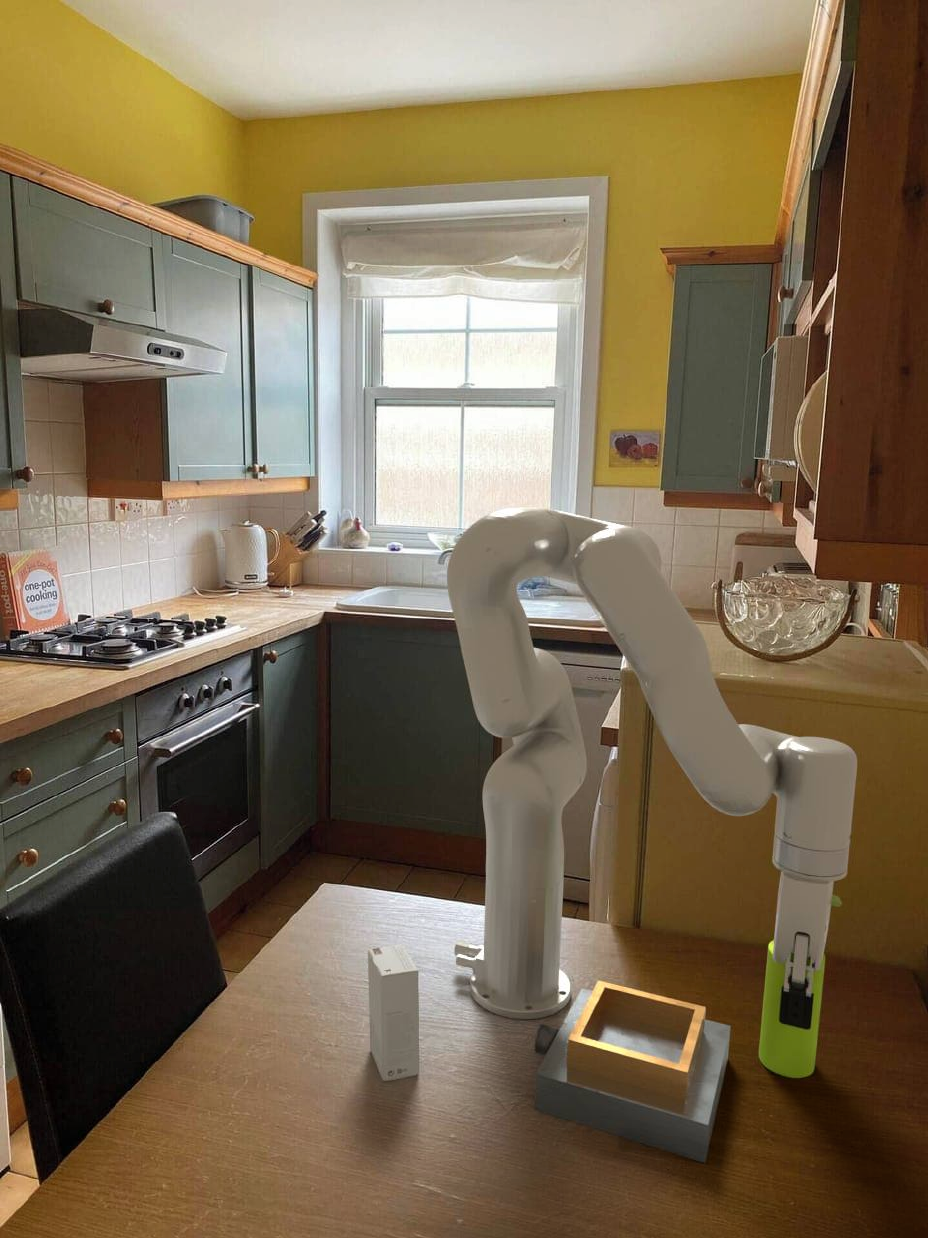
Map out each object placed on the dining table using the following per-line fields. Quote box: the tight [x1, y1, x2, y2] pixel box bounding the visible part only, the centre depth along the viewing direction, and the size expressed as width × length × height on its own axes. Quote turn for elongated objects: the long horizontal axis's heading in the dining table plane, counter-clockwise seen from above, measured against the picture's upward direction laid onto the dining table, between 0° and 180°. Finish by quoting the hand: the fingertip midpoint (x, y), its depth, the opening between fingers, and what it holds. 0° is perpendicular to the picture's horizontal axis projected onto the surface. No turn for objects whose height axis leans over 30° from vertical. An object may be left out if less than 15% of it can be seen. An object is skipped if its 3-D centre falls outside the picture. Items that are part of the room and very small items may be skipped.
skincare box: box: [367, 943, 420, 1082], centre depth 96 cm, size 6×4×12 cm
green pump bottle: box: [758, 893, 843, 1079], centre depth 98 cm, size 6×7×20 cm
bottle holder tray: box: [533, 980, 731, 1164], centre depth 95 cm, size 19×17×7 cm
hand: (796, 1007), depth 98 cm, fingers closed on green pump bottle, 5 cm apart
